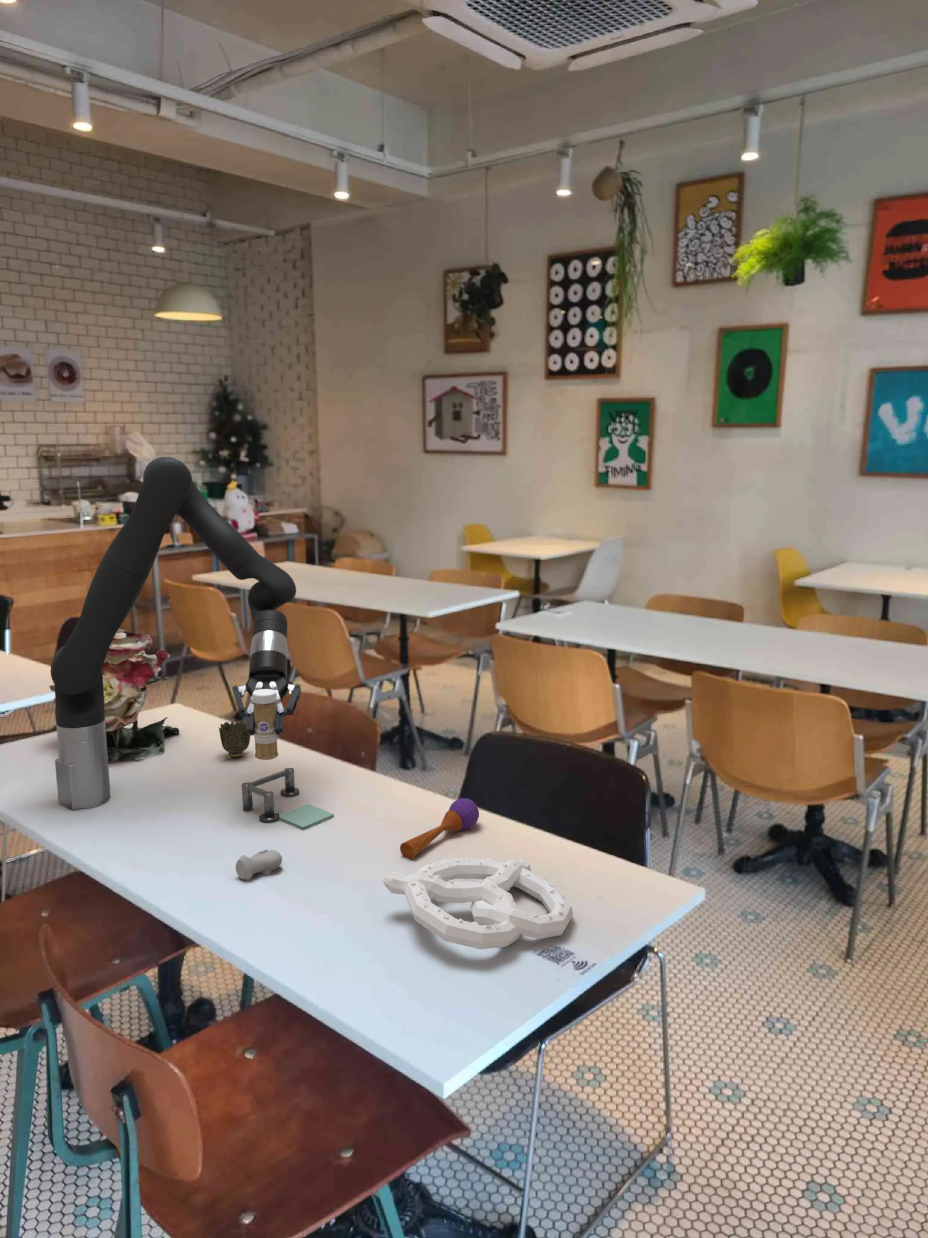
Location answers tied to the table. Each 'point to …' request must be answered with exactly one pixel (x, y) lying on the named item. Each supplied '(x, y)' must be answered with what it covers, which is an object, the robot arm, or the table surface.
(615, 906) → the table surface
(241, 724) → the dark brown scalloped piece
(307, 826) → the pad
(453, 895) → the pretzel
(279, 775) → the grey jointed rod frame
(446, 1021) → the table surface
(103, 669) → the rose bouquet
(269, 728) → the sprinkles bottle
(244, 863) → the grey figurine
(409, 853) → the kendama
